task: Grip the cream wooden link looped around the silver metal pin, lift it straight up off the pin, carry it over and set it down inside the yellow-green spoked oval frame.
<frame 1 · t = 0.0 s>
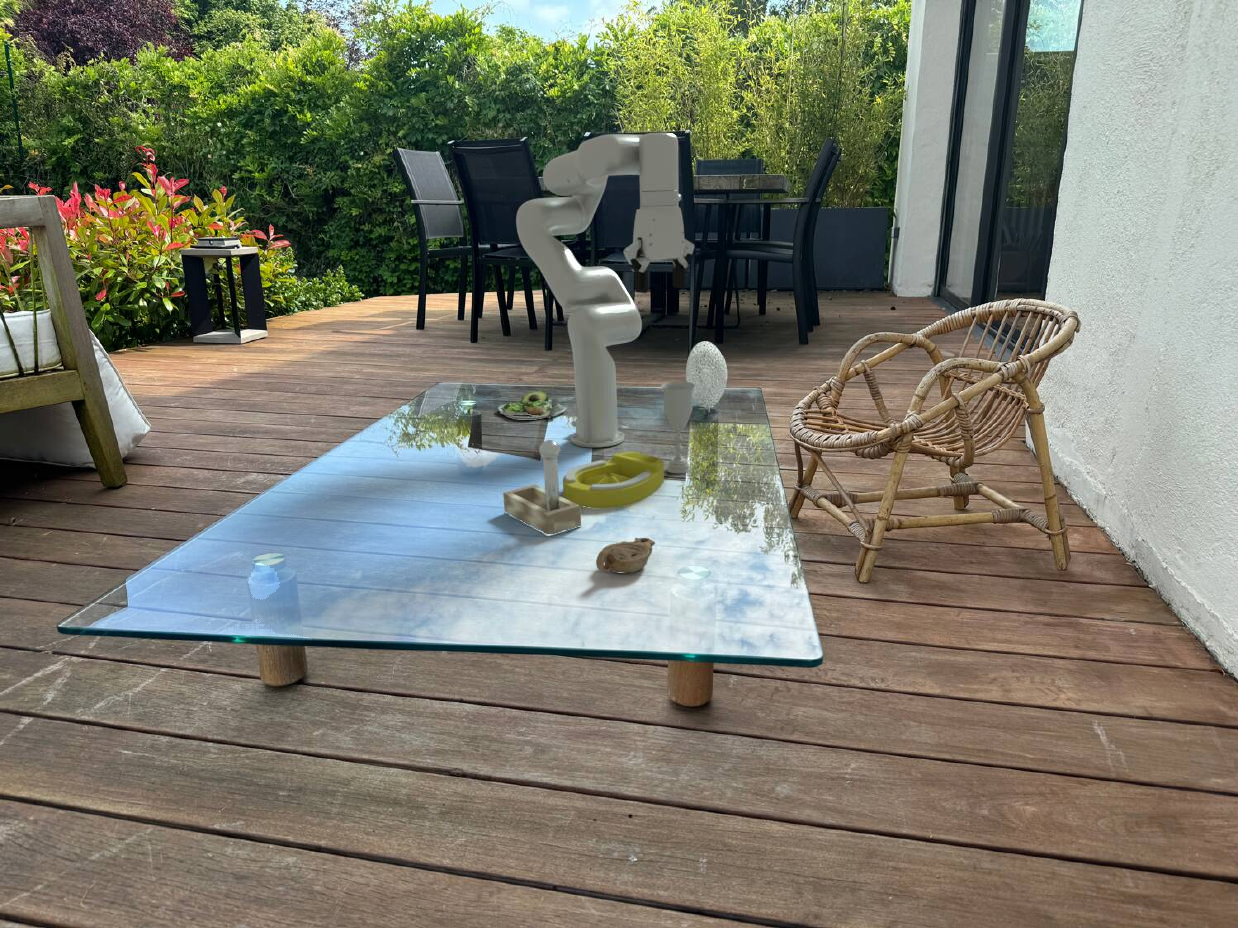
hand: (660, 290, 171), 37 cm above the table, tool pointing down, fingers open, 9 cm apart
silver metal pin: (554, 526, 150), on the table
chalice: (678, 470, 178), on the table
salad plate: (532, 414, 228), on the table
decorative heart: (706, 409, 226), on the table
oil lamp: (625, 569, 133), on the table
yellow-green spoked oval frame: (613, 492, 167), on the table
link: (542, 519, 153), on the table
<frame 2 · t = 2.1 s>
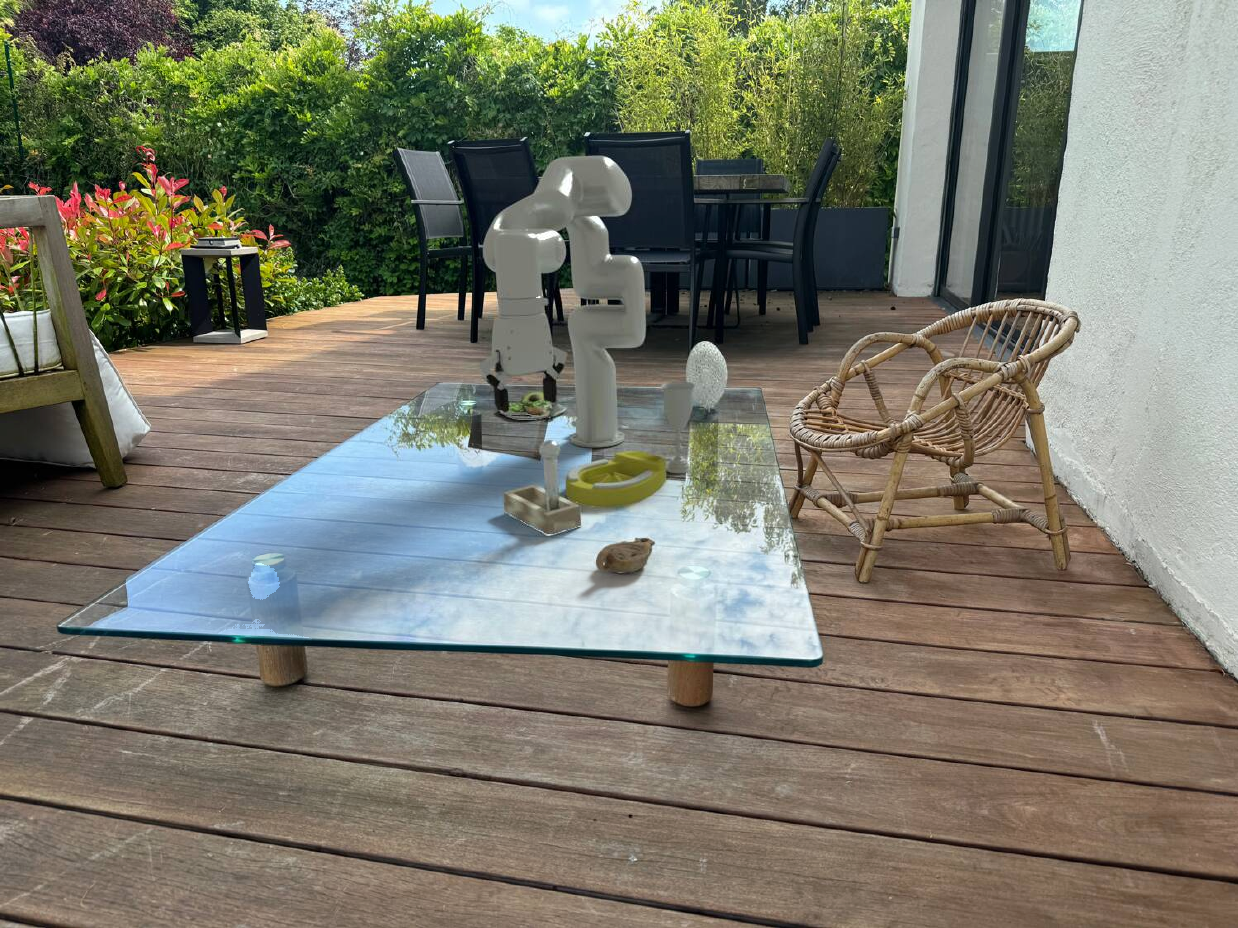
hand: (526, 405, 149), 21 cm above the table, tool pointing down, fingers open, 9 cm apart
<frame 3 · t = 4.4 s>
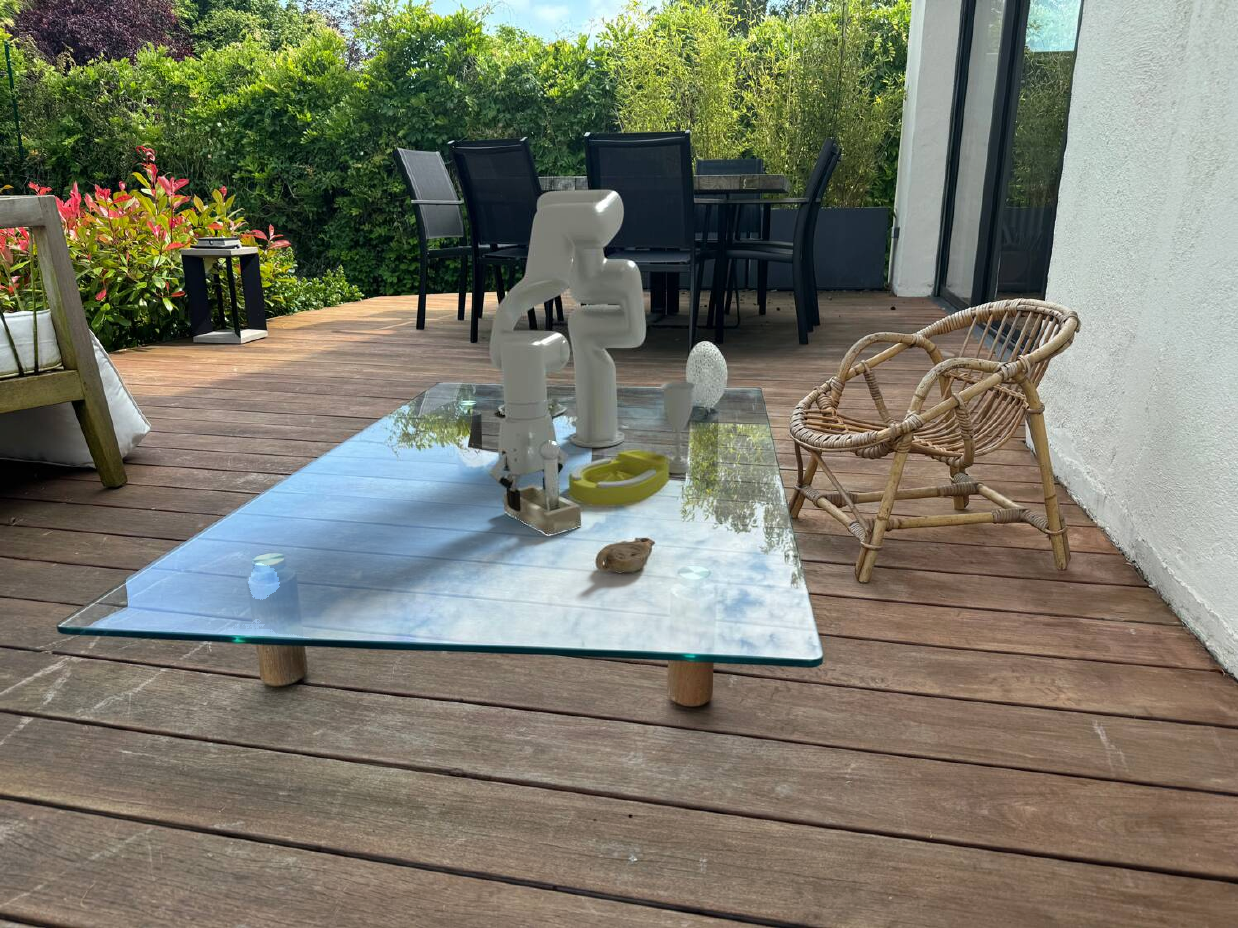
hand: (532, 503, 155), 2 cm above the table, tool pointing down, fingers closed on link, 6 cm apart
link: (542, 519, 153), on the table, touching gripper
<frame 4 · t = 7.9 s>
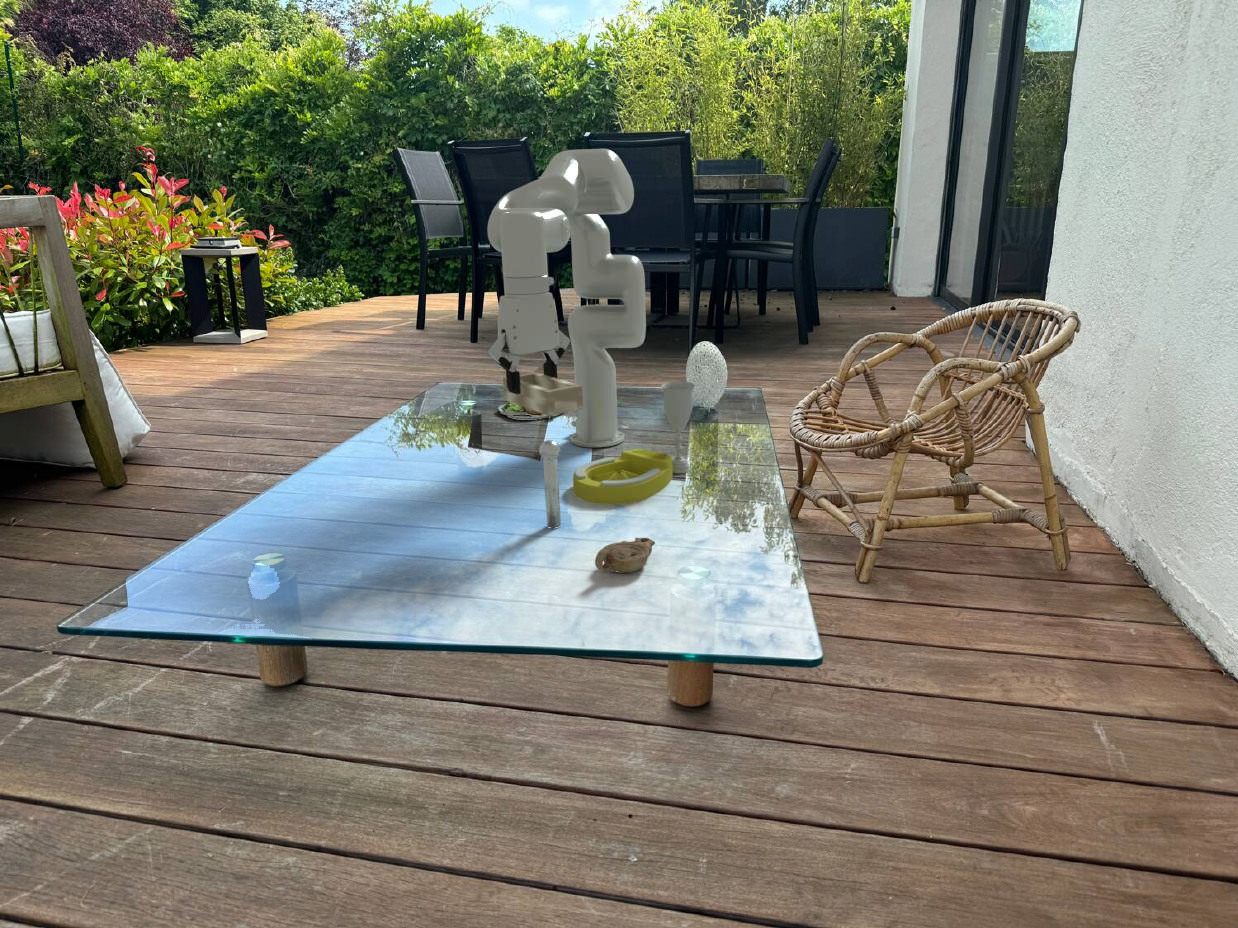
hand: (532, 388, 150), 23 cm above the table, tool pointing down, fingers closed on link, 6 cm apart
yellow-green spoked oval frame: (622, 489, 169), on the table
link: (542, 404, 148), point 21 cm above the table, touching gripper
everything else where it was.
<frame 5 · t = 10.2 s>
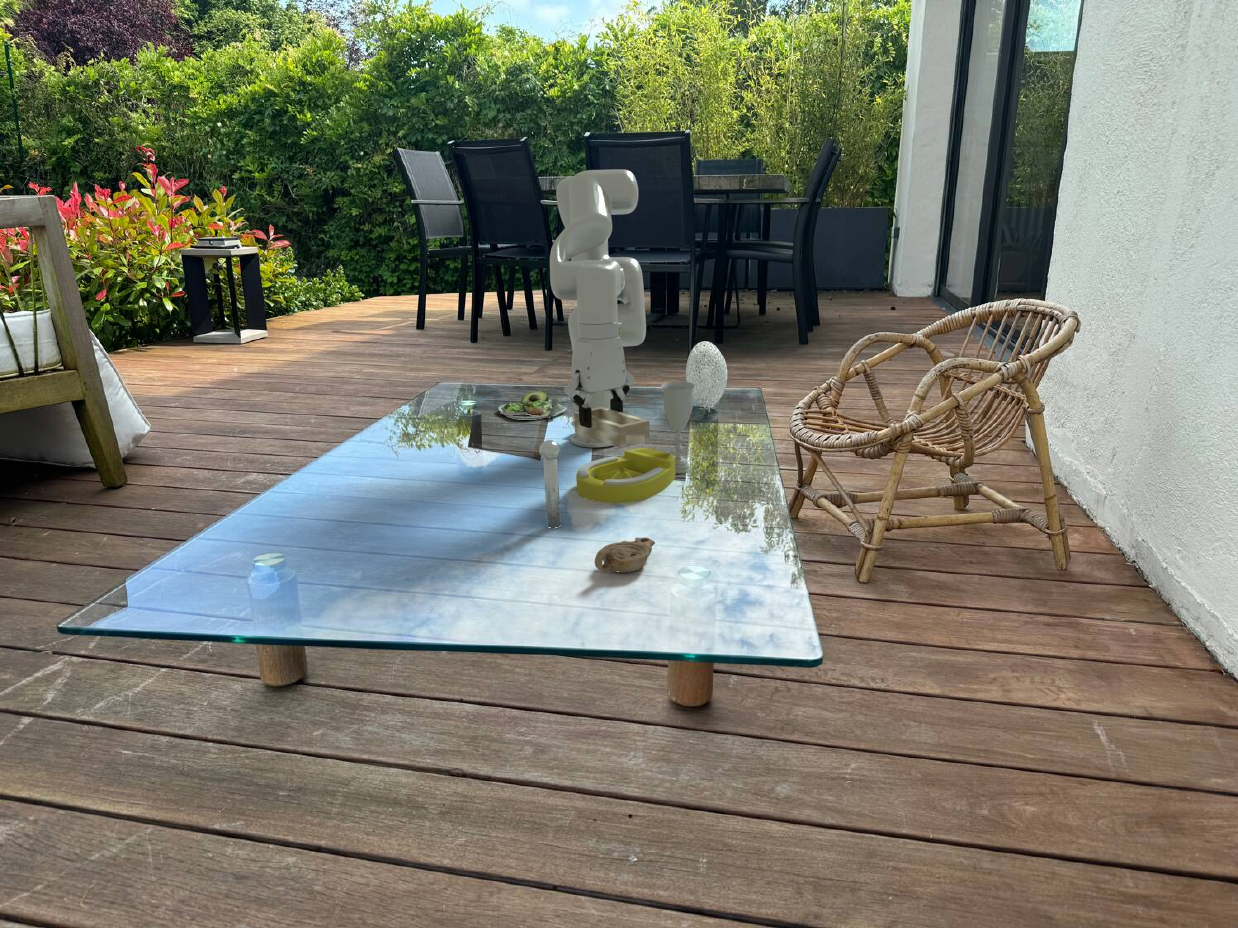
hand: (601, 422, 165), 13 cm above the table, tool pointing down, fingers closed on link, 6 cm apart
link: (611, 436, 163), point 11 cm above the table, touching gripper
when the fingers open (8 cm above the table, at t = 11.7 s): link drops 2 cm, point 4 cm above the table.
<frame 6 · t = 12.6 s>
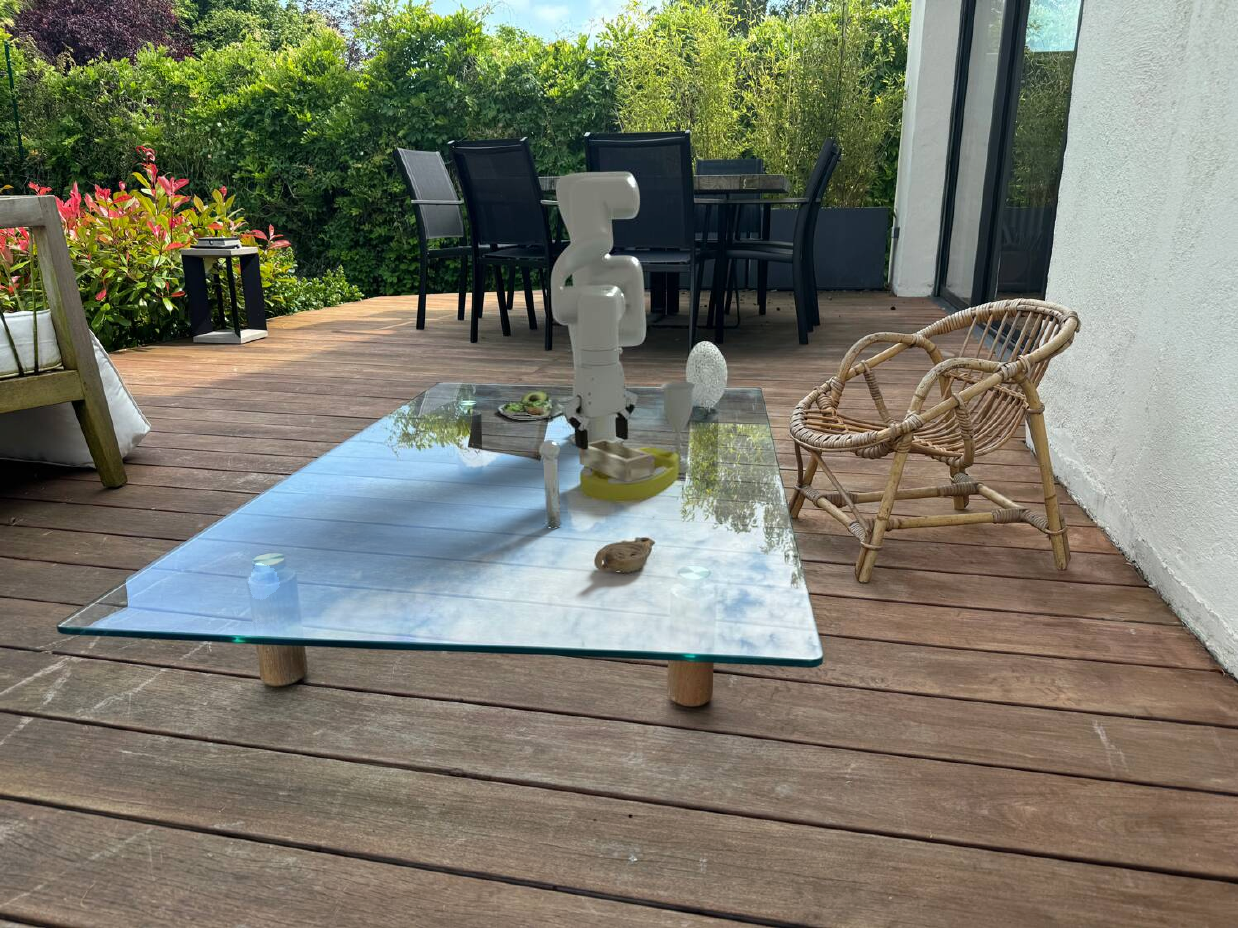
hand: (602, 443, 167), 9 cm above the table, tool pointing down, fingers open, 9 cm apart
yellow-green spoked oval frame: (629, 487, 170), on the table
link: (616, 469, 166), point 4 cm above the table
everything else where it was.
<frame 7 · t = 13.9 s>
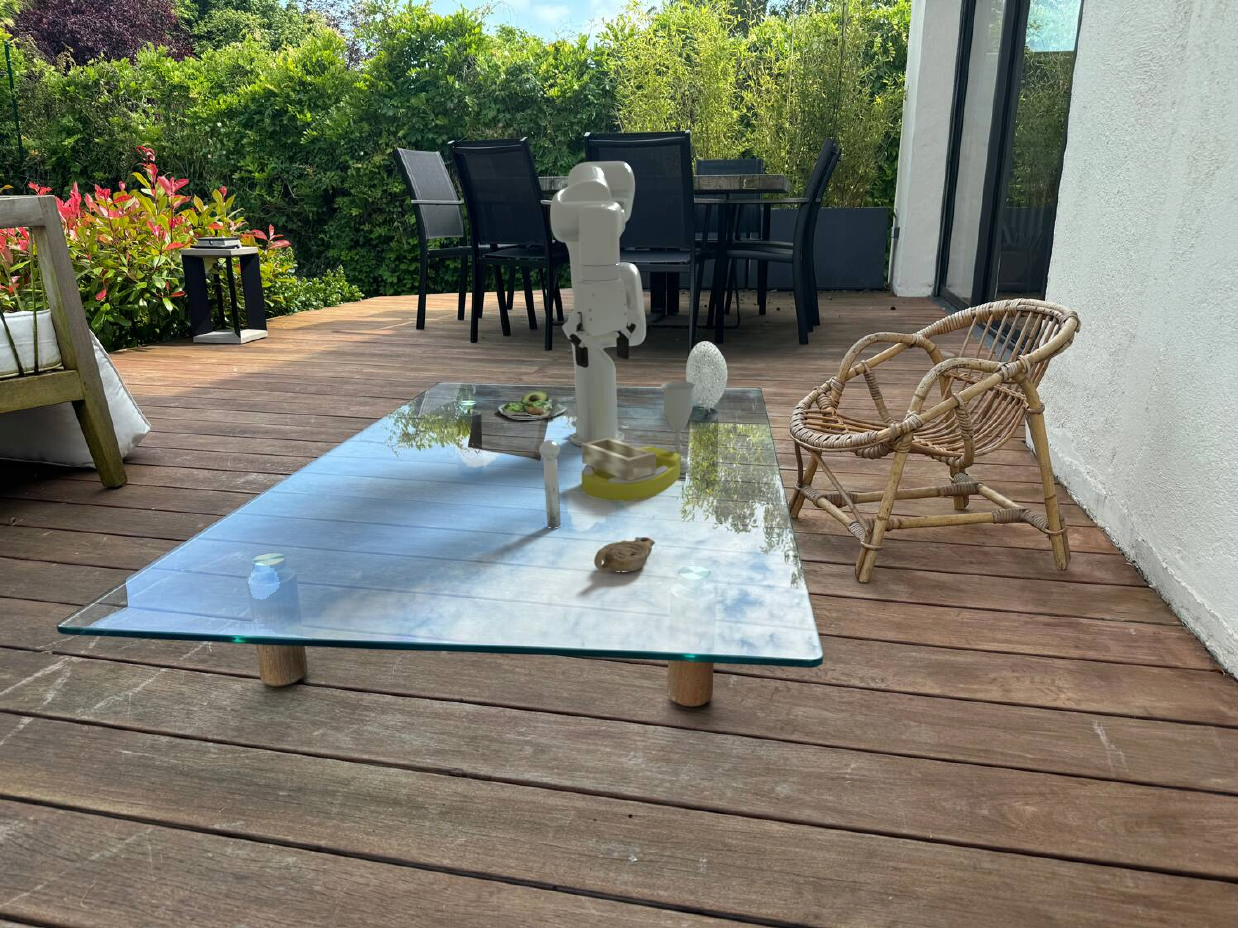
hand: (603, 362, 166), 24 cm above the table, tool pointing down, fingers open, 9 cm apart
yellow-green spoked oval frame: (630, 486, 171), on the table, touching link
link: (618, 467, 167), point 4 cm above the table, touching yellow-green spoked oval frame
everything else where it was.
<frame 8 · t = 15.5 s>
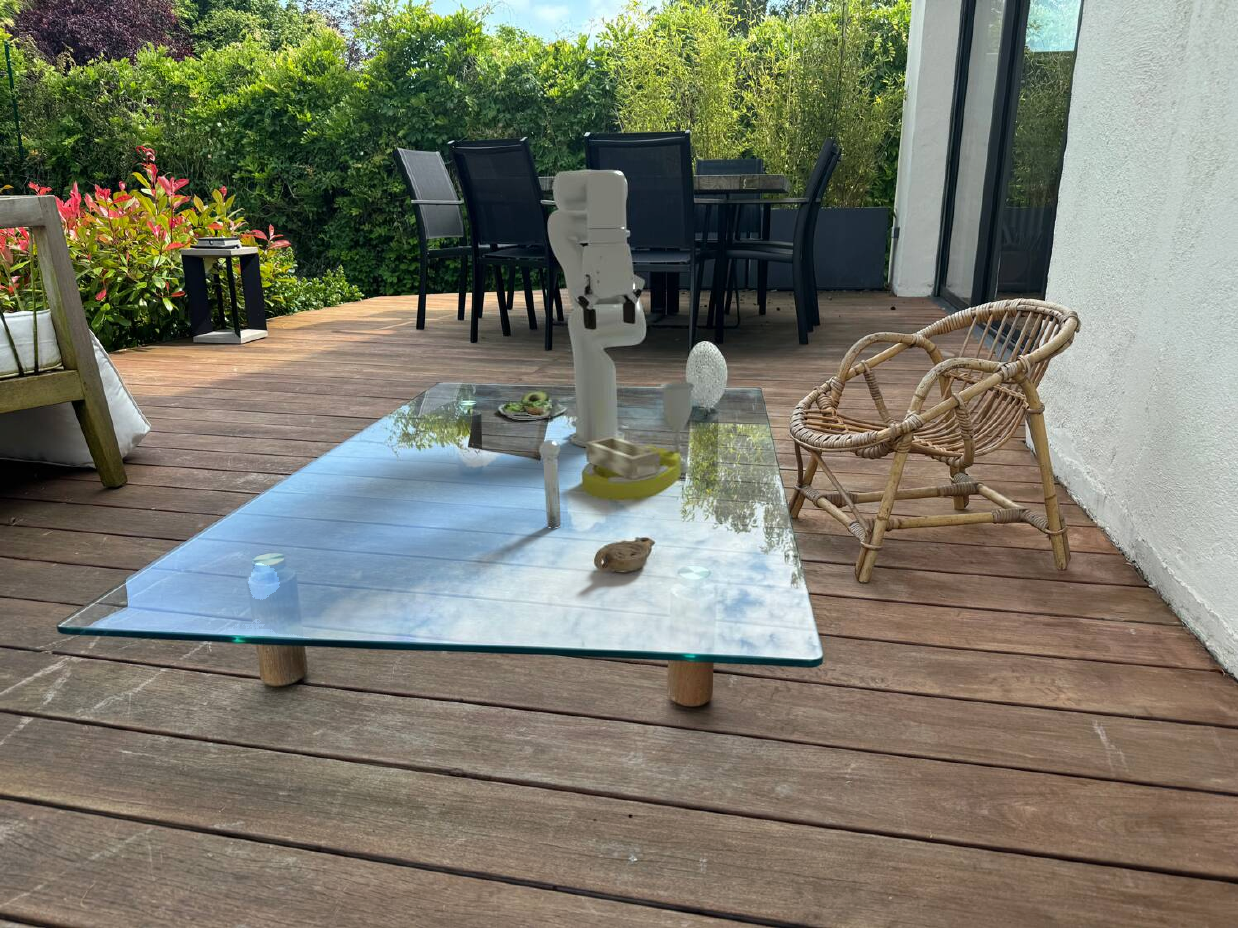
hand: (610, 326, 170), 30 cm above the table, tool pointing down, fingers open, 9 cm apart
link: (622, 466, 168), point 4 cm above the table, touching yellow-green spoked oval frame
at the end: link 2.4 cm from the yellow-green spoked oval frame (horizontally); link touching yellow-green spoked oval frame; the gripper is holding nothing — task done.
